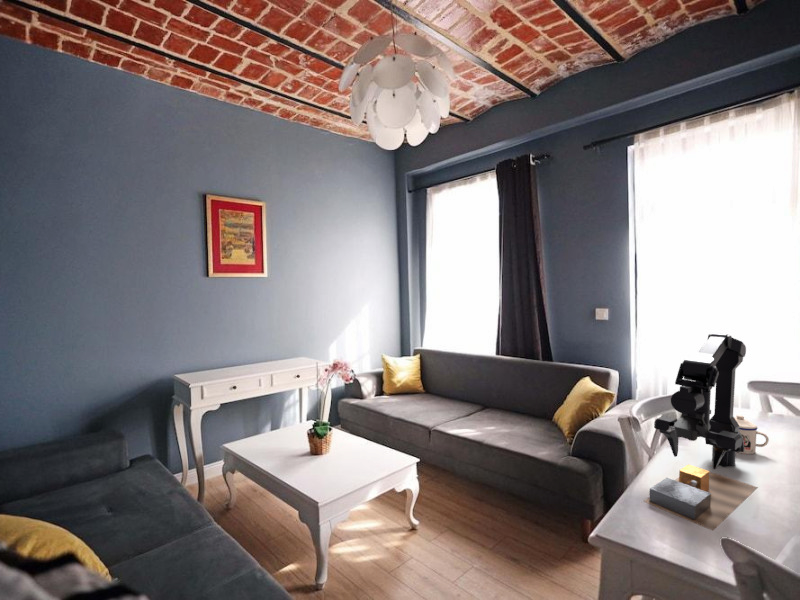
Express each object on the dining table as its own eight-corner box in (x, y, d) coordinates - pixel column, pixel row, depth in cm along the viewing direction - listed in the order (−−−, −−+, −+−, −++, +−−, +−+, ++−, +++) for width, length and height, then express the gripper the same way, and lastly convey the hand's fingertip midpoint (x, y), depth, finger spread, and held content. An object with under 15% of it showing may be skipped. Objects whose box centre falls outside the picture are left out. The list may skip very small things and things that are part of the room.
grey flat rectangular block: (684, 477, 119) (685, 465, 118) (727, 492, 110) (727, 479, 110) (649, 501, 106) (649, 488, 106) (694, 520, 98) (695, 506, 98)
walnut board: (694, 470, 125) (694, 466, 125) (757, 491, 113) (757, 487, 113) (643, 505, 106) (643, 501, 106) (712, 535, 94) (713, 530, 94)
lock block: (687, 481, 116) (688, 464, 116) (708, 489, 112) (709, 471, 112) (678, 487, 113) (679, 470, 112) (700, 495, 109) (700, 477, 108)
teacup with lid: (720, 449, 141) (721, 415, 140) (724, 441, 147) (725, 409, 147) (766, 460, 132) (768, 424, 132) (769, 451, 139) (770, 417, 138)
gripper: (646, 402, 114) (644, 457, 115) (728, 421, 99) (725, 485, 100) (663, 396, 120) (662, 448, 121) (744, 413, 105) (741, 472, 106)
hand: (694, 462), depth 112 cm, fingers open, 9 cm apart
